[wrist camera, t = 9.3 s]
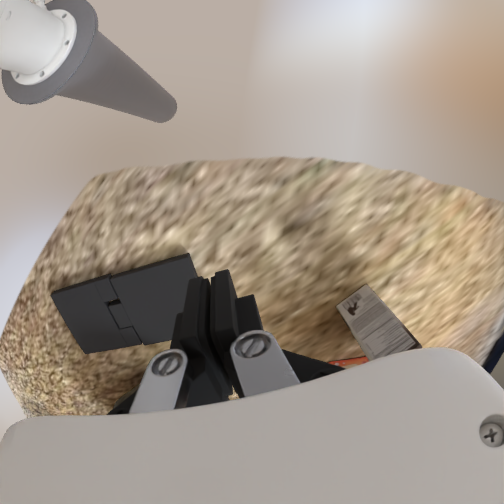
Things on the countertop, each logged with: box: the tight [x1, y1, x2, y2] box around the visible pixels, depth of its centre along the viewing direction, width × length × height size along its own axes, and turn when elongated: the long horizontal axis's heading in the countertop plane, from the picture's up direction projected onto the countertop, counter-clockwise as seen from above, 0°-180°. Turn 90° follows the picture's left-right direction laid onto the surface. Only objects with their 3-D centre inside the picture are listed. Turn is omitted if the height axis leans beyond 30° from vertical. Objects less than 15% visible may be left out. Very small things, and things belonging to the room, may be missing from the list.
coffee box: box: [336, 284, 422, 362], centre depth 37 cm, size 9×6×16 cm
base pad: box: [51, 274, 142, 354], centre depth 39 cm, size 12×12×2 cm
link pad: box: [108, 253, 198, 345], centre depth 39 cm, size 12×14×2 cm
